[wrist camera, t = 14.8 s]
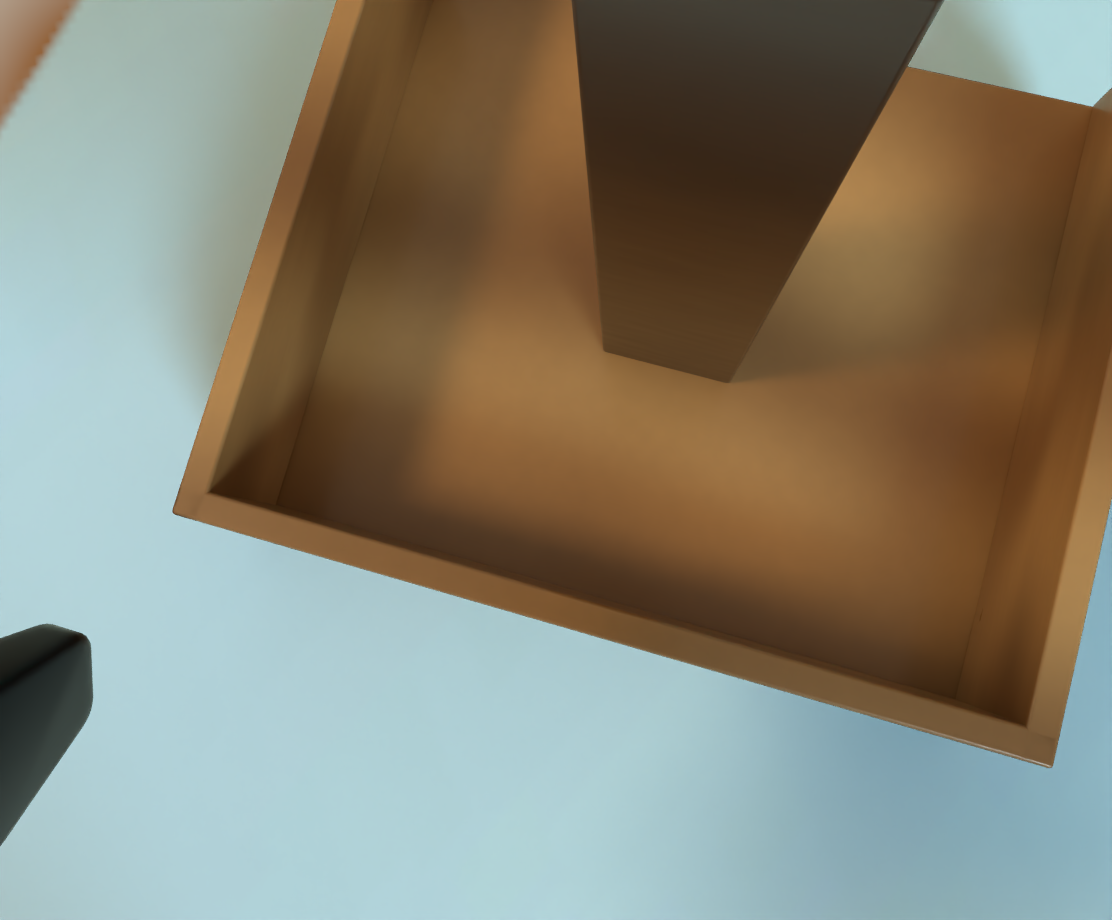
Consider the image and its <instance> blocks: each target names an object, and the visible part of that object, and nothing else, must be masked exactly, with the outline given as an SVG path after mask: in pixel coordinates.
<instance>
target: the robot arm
mask: <svg viewBox="0 0 1112 920" xmlns="http://www.w3.org/2000/svg"><path fill="white" fill-rule="evenodd" d="M92 702H93V684H92V660H91V645H90V642H89V640H88V638H87V637H86V636H85V635H83V634H82V633H79V632H76V631H73V630H69V629H66V628H63V627H60V626H56V625H53V624H42V625H38V626H35V627H32V628H29V629H26V630H23V631H20V632H17V633H14V634H11V635H9V636H6V637H3V638H0V846H1V845H2V843H3V842H4V841H5V839H6V838H7V836H8V835H9V833H10V832H11V830H12V829H13V827H14V826H15V825H16V823H17V822H18V820H19V819H20V817H21V816H22V814H23V813H24V811H25V810H26V809H27V807H28V806H29V804H30V803H31V801H32V800H33V798H34V797H35V796H36V794H37V793H38V791H39V790H40V788H41V787H42V785H43V784H44V782H45V781H46V780H47V778H48V777H49V775H50V774H51V772H52V771H53V769H54V768H55V766H56V765H57V764H58V762H59V761H60V759H61V758H62V756H63V755H64V753H65V752H66V750H67V749H68V748H69V746H70V745H71V743H72V742H73V740H74V739H75V737H76V736H77V734H78V733H79V732H80V730H81V729H82V727H83V726H84V724H85V722H86V720H87V718H88V716H89V714H90V711H91V707H92Z"/></svg>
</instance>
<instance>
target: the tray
mask: <svg viewBox="0 0 1112 920" xmlns="http://www.w3.org/2000/svg"><path fill="white" fill-rule="evenodd" d="M943 2H944V0H337V1H336V4H335V7H334V10H333V13H332V17H331V20H330V23H329V26H328V29H327V32H326V35H325V38H324V41H323V44H322V48H321V51H320V54H319V57H318V60H317V63H316V66H315V69H314V72H313V76H312V79H311V82H310V85H309V88H308V91H307V94H306V97H305V100H304V103H303V107H302V110H301V113H300V116H299V119H298V122H297V125H296V128H295V131H294V134H293V138H292V141H291V144H290V147H289V150H288V153H287V156H286V159H285V162H284V166H283V169H282V172H281V175H280V178H279V181H278V184H277V187H276V190H275V193H274V197H273V200H272V203H271V206H270V209H269V212H268V215H267V218H266V221H265V224H264V228H263V231H262V234H261V237H260V240H259V243H258V246H257V249H256V252H255V256H254V259H253V262H252V265H251V268H250V271H249V274H248V277H247V280H246V283H245V287H244V290H243V293H242V296H241V299H240V302H239V305H238V308H237V311H236V314H235V318H234V321H233V324H232V327H231V330H230V333H229V336H228V339H227V342H226V346H225V349H224V352H223V355H222V358H221V361H220V364H219V367H218V370H217V373H216V377H215V380H214V383H213V386H212V389H211V392H210V395H209V398H208V401H207V404H206V408H205V411H204V414H203V417H202V420H201V423H200V426H199V429H198V432H197V436H196V439H195V442H194V445H193V448H192V451H191V454H190V457H189V460H188V463H187V467H186V470H185V473H184V476H183V479H182V482H181V485H180V488H179V491H178V494H177V498H176V501H175V504H174V507H173V513H174V514H175V515H178V516H182V517H185V518H189V519H192V520H195V521H199V522H202V523H206V524H209V525H213V526H216V527H220V528H223V529H226V530H230V531H233V532H237V533H240V534H244V535H247V536H251V537H254V538H257V539H261V540H264V541H268V542H271V543H275V544H278V545H282V546H285V547H288V548H292V549H295V550H299V551H302V552H306V553H309V554H313V555H316V556H319V557H323V558H326V559H330V560H333V561H337V562H340V563H344V564H347V565H350V566H354V567H357V568H361V569H364V570H368V571H371V572H375V573H378V574H381V575H385V576H388V577H392V578H395V579H399V580H402V581H406V582H409V583H412V584H416V585H419V586H423V587H426V588H430V589H433V590H437V591H440V592H444V593H447V594H450V595H454V596H457V597H461V598H464V599H468V600H471V601H475V602H478V603H481V604H485V605H488V606H492V607H495V608H499V609H502V610H506V611H509V612H512V613H516V614H519V615H523V616H526V617H530V618H533V619H537V620H540V621H543V622H547V623H550V624H554V625H557V626H561V627H564V628H568V629H571V630H574V631H578V632H581V633H585V634H588V635H592V636H595V637H599V638H602V639H605V640H609V641H612V642H616V643H619V644H623V645H626V646H630V647H633V648H636V649H640V650H643V651H647V652H650V653H654V654H657V655H661V656H664V657H667V658H671V659H674V660H678V661H681V662H685V663H688V664H692V665H695V666H699V667H702V668H705V669H709V670H712V671H716V672H719V673H723V674H726V675H730V676H733V677H736V678H740V679H743V680H747V681H750V682H754V683H757V684H761V685H764V686H767V687H771V688H774V689H778V690H781V691H785V692H788V693H792V694H795V695H798V696H802V697H805V698H809V699H812V700H816V701H819V702H823V703H826V704H829V705H833V706H836V707H840V708H843V709H847V710H850V711H854V712H857V713H860V714H864V715H867V716H871V717H874V718H878V719H881V720H885V721H888V722H891V723H895V724H898V725H902V726H905V727H909V728H912V729H916V730H919V731H922V732H926V733H929V734H933V735H936V736H940V737H943V738H947V739H950V740H954V741H957V742H960V743H964V744H967V745H971V746H974V747H978V748H981V749H985V750H988V751H991V752H995V753H998V754H1002V755H1005V756H1009V757H1012V758H1016V759H1019V760H1022V761H1026V762H1029V763H1033V764H1036V765H1040V766H1043V767H1046V768H1052V766H1053V763H1054V758H1055V754H1056V749H1057V745H1058V740H1059V736H1060V731H1061V726H1062V722H1063V717H1064V713H1065V708H1066V704H1067V699H1068V695H1069V690H1070V686H1071V681H1072V677H1073V672H1074V668H1075V663H1076V658H1077V654H1078V649H1079V645H1080V640H1081V636H1082V631H1083V627H1084V622H1085V618H1086V613H1087V609H1088V604H1089V600H1090V595H1091V590H1092V586H1093V581H1094V577H1095V572H1096V568H1097V563H1098V559H1099V554H1100V550H1101V545H1102V541H1103V536H1104V532H1105V527H1106V523H1107V518H1108V513H1109V509H1110V504H1111V500H1112V88H1111V89H1110V90H1109V91H1108V92H1107V93H1106V94H1105V95H1104V96H1103V97H1102V98H1101V99H1100V100H1099V101H1098V102H1097V103H1096V104H1095V105H1094V106H1093V107H1091V106H1086V105H1082V104H1077V103H1073V102H1068V101H1064V100H1059V99H1054V98H1050V97H1045V96H1041V95H1036V94H1031V93H1027V92H1022V91H1018V90H1013V89H1009V88H1004V87H999V86H995V85H990V84H986V83H981V82H976V81H972V80H967V79H963V78H958V77H954V76H949V75H944V74H940V73H935V72H931V71H926V70H921V69H917V68H912V67H908V64H909V62H910V60H911V59H912V57H913V55H914V53H915V52H916V50H917V48H918V46H919V44H920V43H921V41H922V39H923V37H924V35H925V34H926V32H927V30H928V28H929V27H930V25H931V23H932V21H933V19H934V18H935V16H936V14H937V12H938V11H939V9H940V7H941V5H942V3H943Z"/></svg>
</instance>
